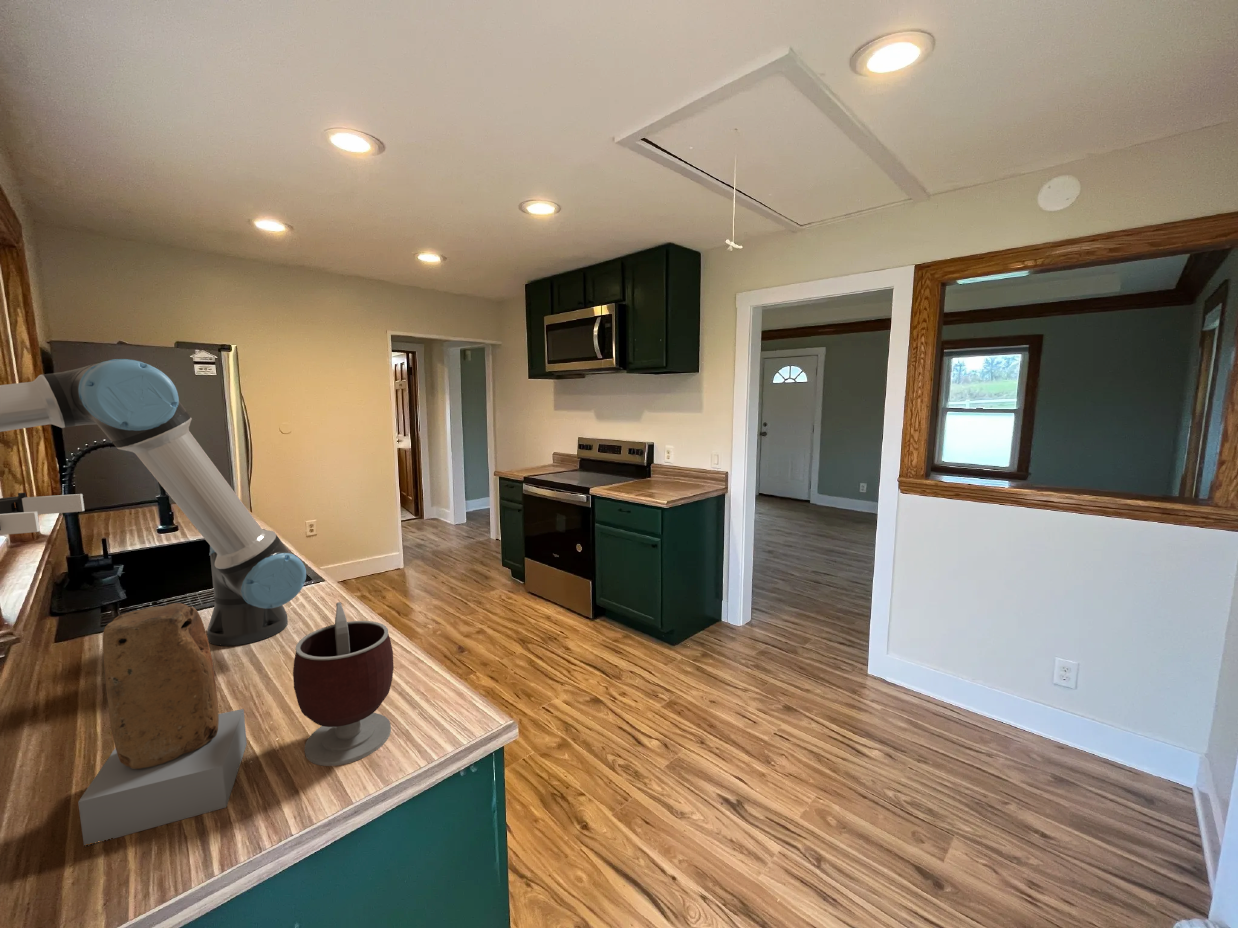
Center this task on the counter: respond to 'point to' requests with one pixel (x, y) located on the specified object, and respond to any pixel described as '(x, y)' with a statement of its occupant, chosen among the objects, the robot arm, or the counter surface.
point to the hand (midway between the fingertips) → (62, 511)
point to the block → (159, 684)
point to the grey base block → (164, 786)
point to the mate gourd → (344, 688)
